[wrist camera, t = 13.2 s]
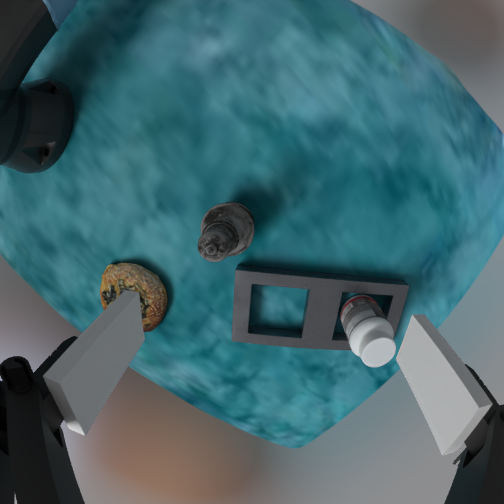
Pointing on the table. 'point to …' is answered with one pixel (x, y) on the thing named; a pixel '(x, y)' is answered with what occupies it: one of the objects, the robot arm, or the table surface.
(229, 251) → the grey chess piece
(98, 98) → the table surface
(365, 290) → the grey rectangular frame
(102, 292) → the bread roll
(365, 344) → the pill bottle
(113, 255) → the table surface
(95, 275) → the table surface
